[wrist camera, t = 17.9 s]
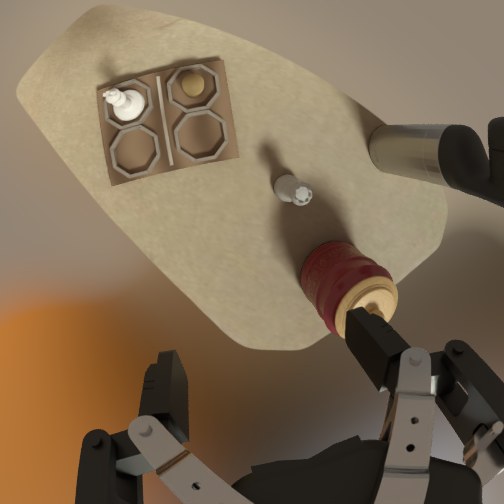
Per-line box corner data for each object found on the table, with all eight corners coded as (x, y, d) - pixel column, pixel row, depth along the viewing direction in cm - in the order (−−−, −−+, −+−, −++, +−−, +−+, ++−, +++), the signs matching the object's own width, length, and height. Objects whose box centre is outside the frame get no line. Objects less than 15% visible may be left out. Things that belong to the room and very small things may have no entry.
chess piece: (143, 119, 34) (125, 109, 25) (113, 122, 33) (87, 115, 24) (145, 88, 32) (129, 71, 23) (115, 92, 31) (91, 77, 22)
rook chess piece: (268, 181, 42) (282, 187, 35) (292, 169, 42) (311, 173, 35) (280, 205, 44) (295, 217, 37) (303, 193, 44) (323, 202, 36)
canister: (287, 263, 48) (327, 318, 32) (347, 226, 47) (408, 263, 31) (314, 312, 53) (352, 372, 37) (366, 279, 52) (418, 325, 36)
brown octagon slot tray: (222, 62, 34) (225, 52, 29) (238, 157, 40) (242, 157, 35) (100, 92, 32) (88, 86, 27) (114, 185, 38) (104, 189, 33)
